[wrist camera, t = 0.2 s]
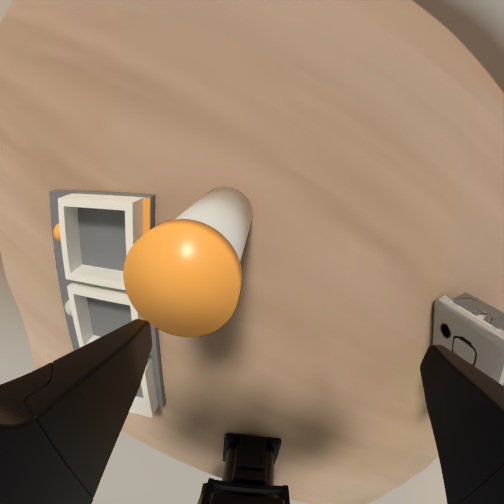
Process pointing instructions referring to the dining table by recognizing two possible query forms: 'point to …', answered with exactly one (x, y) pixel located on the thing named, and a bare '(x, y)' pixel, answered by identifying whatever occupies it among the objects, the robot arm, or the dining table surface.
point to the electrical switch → (471, 332)
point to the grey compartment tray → (103, 271)
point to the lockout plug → (191, 265)
